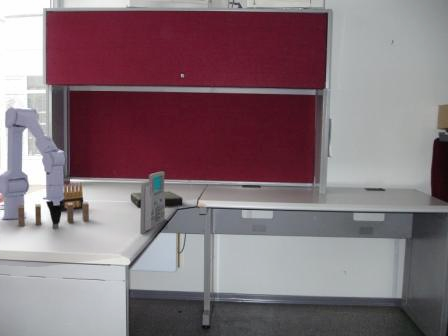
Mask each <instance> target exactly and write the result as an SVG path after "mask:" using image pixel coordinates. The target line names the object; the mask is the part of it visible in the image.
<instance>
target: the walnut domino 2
mask: <svg viewBox="0 0 448 336" xmlns="http://www.w3.org/2000/svg"><path fill="white" fill-rule="evenodd" d="M34 207H35V208H34V209H35V211H34V212H35V226H41V225H42V215H41V214H42V211H41V210H42V205H41V203H38V204H37V203H35V206H34Z"/></svg>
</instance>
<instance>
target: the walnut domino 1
mask: <svg viewBox="0 0 448 336" xmlns="http://www.w3.org/2000/svg"><path fill="white" fill-rule="evenodd" d="M24 213H25V204H24V205H19V206H18V218H17V220H18V221H17V222H18V227H25V222H26V221H25V218H24Z"/></svg>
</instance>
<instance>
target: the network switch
mask: <svg viewBox="0 0 448 336" xmlns="http://www.w3.org/2000/svg"><path fill="white" fill-rule="evenodd" d="M164 193H165V206H167V207H181V206H183V197H182V196H181V195H178V194H177V193H174V192H172V191H170V190H169V191H168V190H167V191H164ZM130 200H131V202H132V203H133V204H134V205H135V206H136V207H137V208H139V209H141V192H131V194H130Z"/></svg>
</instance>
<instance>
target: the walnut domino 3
mask: <svg viewBox="0 0 448 336" xmlns="http://www.w3.org/2000/svg"><path fill="white" fill-rule="evenodd" d="M66 214H67V216H66V218H67V219H66V220H67V222H68V224H72V223H74V210H73V203H67V211H66Z"/></svg>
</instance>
